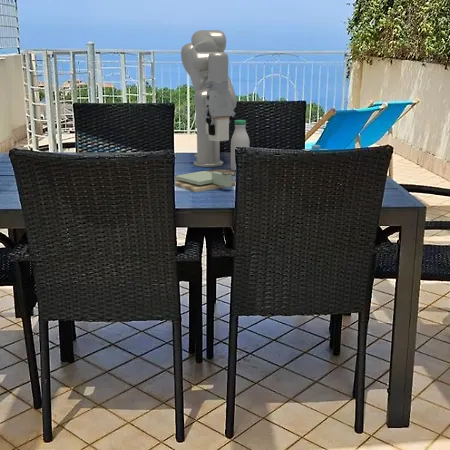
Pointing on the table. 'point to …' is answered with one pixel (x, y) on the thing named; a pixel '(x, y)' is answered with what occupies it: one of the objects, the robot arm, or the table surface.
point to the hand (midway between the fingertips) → (218, 133)
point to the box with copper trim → (220, 129)
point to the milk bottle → (238, 139)
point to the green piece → (207, 178)
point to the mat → (221, 171)
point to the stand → (198, 186)
